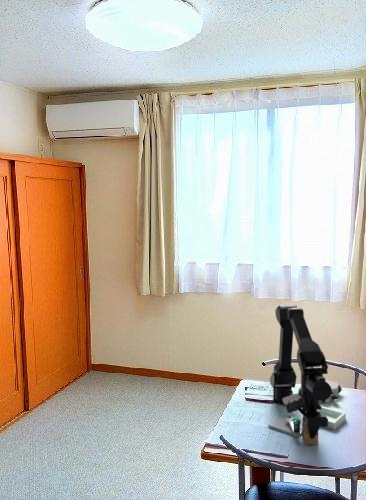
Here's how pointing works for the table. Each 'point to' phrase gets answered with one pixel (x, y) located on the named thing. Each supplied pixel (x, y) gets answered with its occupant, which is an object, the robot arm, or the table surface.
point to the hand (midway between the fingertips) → (310, 435)
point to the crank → (294, 425)
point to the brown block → (306, 435)
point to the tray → (333, 417)
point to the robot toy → (333, 391)
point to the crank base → (283, 425)
